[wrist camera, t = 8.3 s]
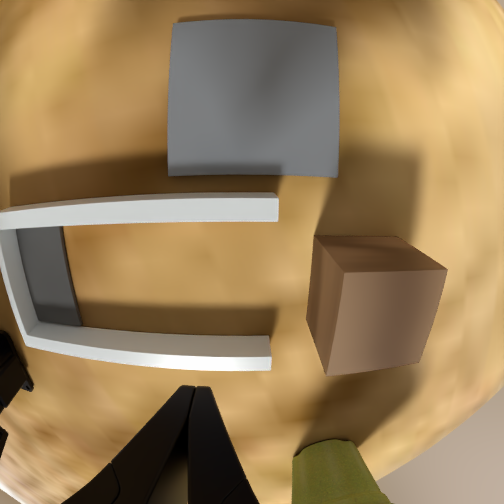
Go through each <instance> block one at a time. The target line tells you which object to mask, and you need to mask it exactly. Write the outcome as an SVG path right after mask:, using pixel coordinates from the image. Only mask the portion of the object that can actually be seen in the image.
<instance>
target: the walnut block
mask: <svg viewBox="0 0 504 504" xmlns="http://www.w3.org/2000/svg"><path fill="white" fill-rule="evenodd" d="M447 271H448V269H446V268H445V267H444V266H442V265H441V264H439V263H438V262H436V261H435V260H433V259H432V258H430V257H429V256H427V255H425V254H424V253H422V252H421V251H419V250H418V249H416V248H415V247H413V246H411V245H410V244H408V243H407V242H405V241H403V240H402V239H400V238H399V237H387V236H329V235H314V240H313V253H312V265H311V276H310V287H309V297H308V307H307V316H306V320H307V323H308V326H309V329H310V332H311V334H312V337H313V340H314V343H315V346H316V349H317V351H318V354H319V357H320V360H321V363H322V366H323V369H324V372H325V375H326V376H334V375H343V374H352V373H359V372H367V371H374V370H380V369H386V368H392V367H398V366H403V365H408V364H414V363H418V362H419V361H420V358H421V356H422V353H423V350H424V348H425V345H426V342H427V339H428V336H429V334H430V331H431V328H432V325H433V322H434V318H435V315H436V312H437V309H438V305H439V302H440V298H441V295H442V291H443V287H444V283H445V279H446V275H447Z"/></svg>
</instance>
